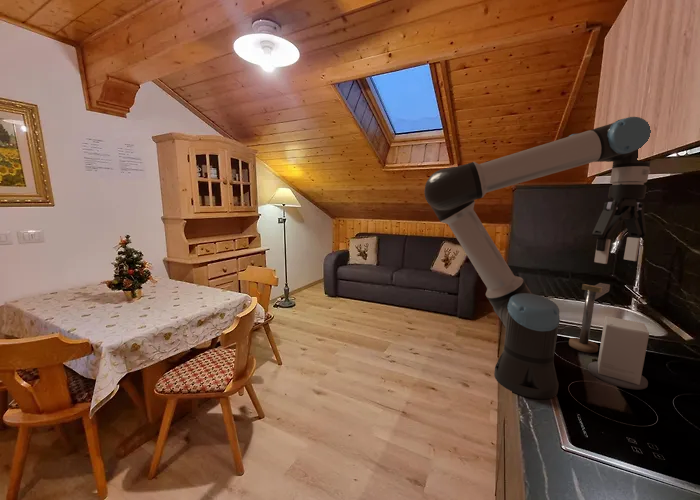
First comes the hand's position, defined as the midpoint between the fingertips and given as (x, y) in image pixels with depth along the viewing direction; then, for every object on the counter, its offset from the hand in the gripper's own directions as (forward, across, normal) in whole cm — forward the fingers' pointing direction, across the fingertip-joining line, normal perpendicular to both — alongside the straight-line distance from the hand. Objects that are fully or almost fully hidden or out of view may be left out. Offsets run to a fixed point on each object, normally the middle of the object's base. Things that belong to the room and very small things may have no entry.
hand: (615, 261), depth 86 cm
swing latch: (+31, +18, +13) cm, 38 cm away
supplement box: (+32, +1, -4) cm, 32 cm away
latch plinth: (+33, +11, +11) cm, 36 cm away
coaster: (+33, +1, -4) cm, 33 cm away
